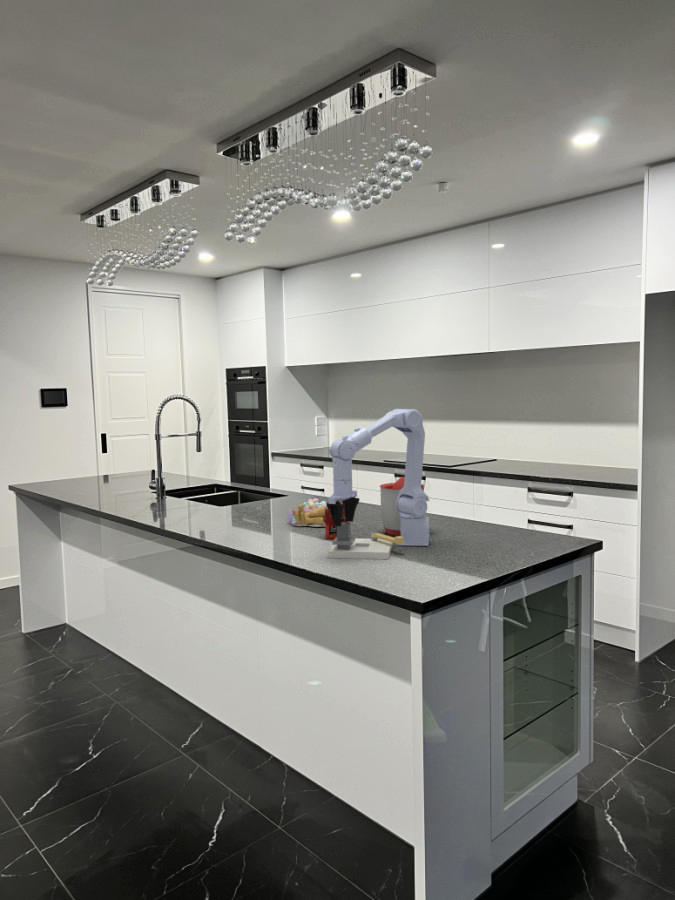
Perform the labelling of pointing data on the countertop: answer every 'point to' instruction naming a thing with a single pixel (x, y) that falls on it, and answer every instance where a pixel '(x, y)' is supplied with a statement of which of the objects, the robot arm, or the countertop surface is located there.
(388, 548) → the socket board
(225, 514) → the countertop surface
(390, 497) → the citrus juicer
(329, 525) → the canned food
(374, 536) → the clip
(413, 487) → the robot arm
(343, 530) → the plug
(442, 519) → the countertop surface
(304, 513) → the candy landscape model
